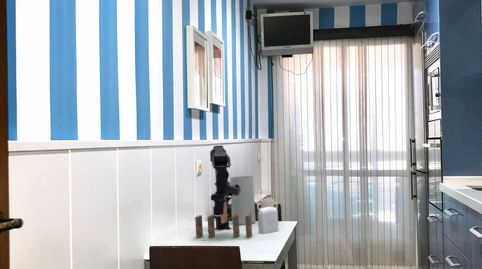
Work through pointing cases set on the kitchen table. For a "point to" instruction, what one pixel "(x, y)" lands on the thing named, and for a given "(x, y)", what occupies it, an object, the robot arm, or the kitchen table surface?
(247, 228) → the domino
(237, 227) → the domino
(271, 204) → the character mug
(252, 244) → the kitchen table surface
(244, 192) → the cylinder vase
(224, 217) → the red domino
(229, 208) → the robot arm
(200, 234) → the domino
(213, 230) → the domino
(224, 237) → the sage board
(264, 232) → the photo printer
